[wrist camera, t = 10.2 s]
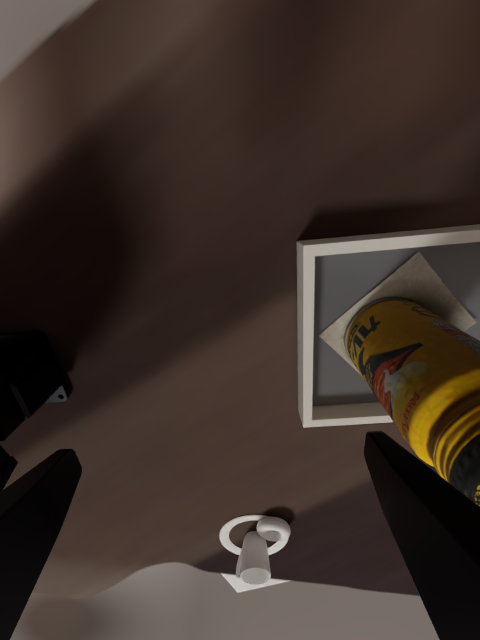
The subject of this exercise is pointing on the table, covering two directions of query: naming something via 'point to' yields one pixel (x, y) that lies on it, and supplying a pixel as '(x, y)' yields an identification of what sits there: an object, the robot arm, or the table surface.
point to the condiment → (420, 367)
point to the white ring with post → (255, 551)
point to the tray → (349, 288)
